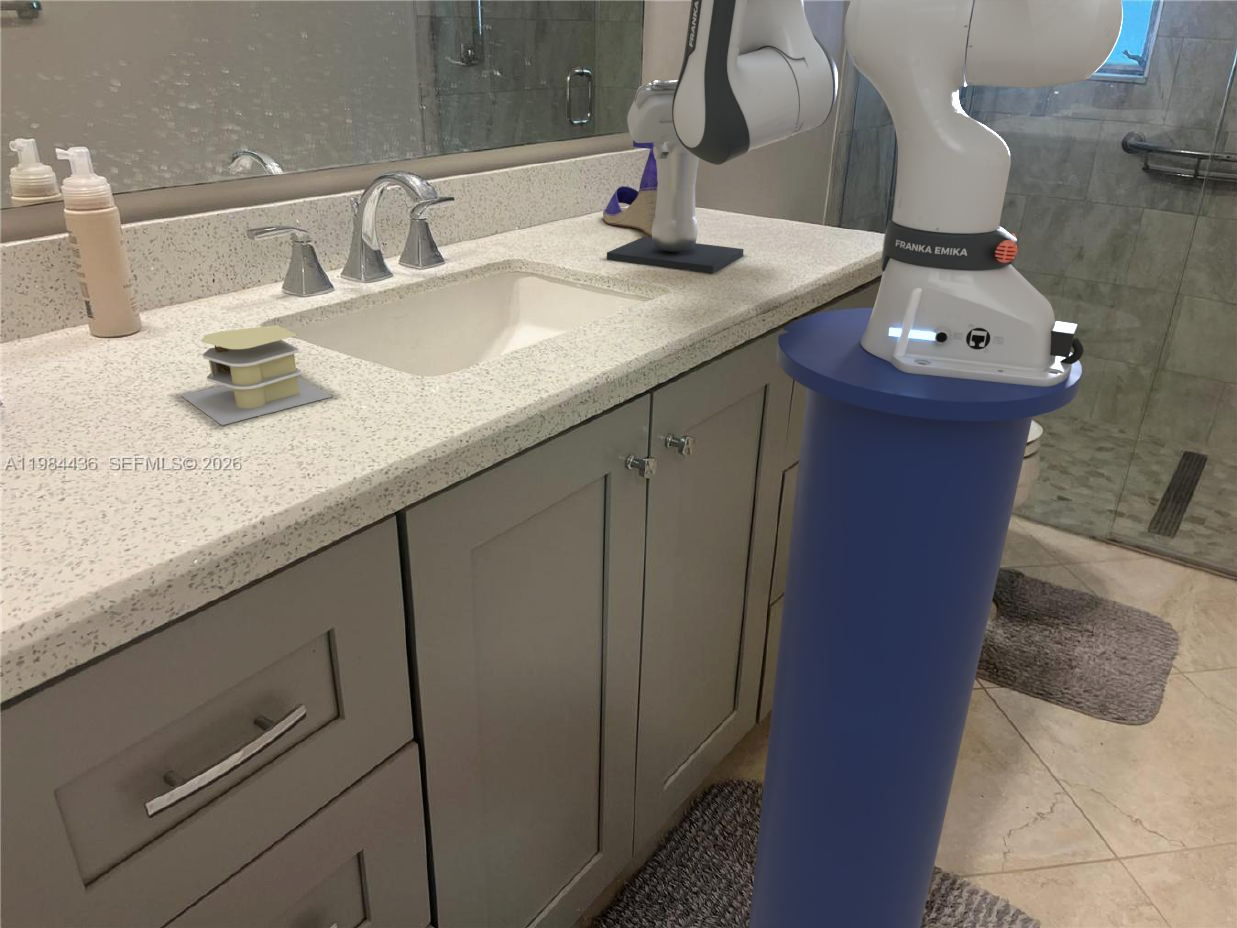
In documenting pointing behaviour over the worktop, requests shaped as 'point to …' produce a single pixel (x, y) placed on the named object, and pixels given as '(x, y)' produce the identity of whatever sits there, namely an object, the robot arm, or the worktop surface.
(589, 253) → the worktop surface
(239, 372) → the stacked layers on plate
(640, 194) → the sandal
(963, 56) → the robot arm
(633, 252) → the dark rectangular flat slab
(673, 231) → the plastic bottle
